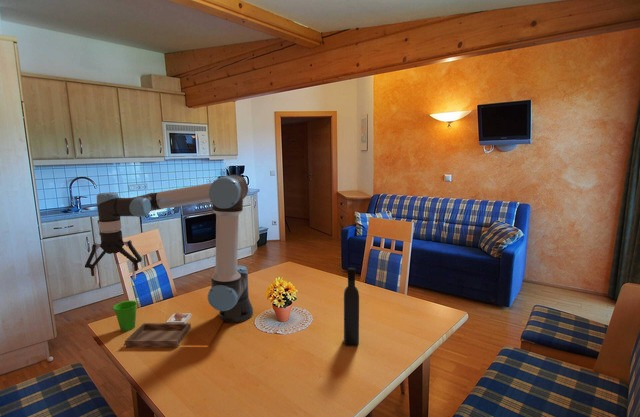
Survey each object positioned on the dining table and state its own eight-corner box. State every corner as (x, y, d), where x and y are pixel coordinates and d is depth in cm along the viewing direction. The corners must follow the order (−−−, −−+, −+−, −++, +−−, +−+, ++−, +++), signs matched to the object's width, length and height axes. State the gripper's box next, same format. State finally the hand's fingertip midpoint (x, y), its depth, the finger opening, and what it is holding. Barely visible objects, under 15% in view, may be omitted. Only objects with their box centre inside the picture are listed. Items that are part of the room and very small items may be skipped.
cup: (129, 335, 142) (126, 310, 141) (110, 333, 144) (107, 308, 142) (144, 325, 151) (142, 301, 149) (126, 323, 153) (124, 299, 151)
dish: (191, 317, 158) (191, 313, 158) (184, 325, 150) (184, 321, 150) (174, 317, 158) (173, 313, 158) (166, 325, 150) (165, 322, 150)
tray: (191, 329, 147) (190, 323, 147) (177, 347, 133) (176, 340, 133) (144, 329, 148) (143, 323, 147) (125, 347, 134) (124, 340, 133)
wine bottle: (357, 338, 139) (358, 266, 134) (359, 346, 133) (359, 271, 128) (343, 338, 139) (343, 266, 134) (344, 346, 133) (344, 271, 128)
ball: (184, 318, 156) (184, 310, 155) (181, 322, 152) (180, 314, 152) (176, 318, 156) (176, 310, 155) (173, 322, 152) (172, 314, 152)
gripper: (146, 226, 149) (150, 273, 152) (77, 231, 140) (83, 281, 143) (144, 230, 142) (148, 279, 145) (71, 235, 133) (78, 288, 136)
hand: (116, 280), depth 144 cm, fingers open, 13 cm apart
